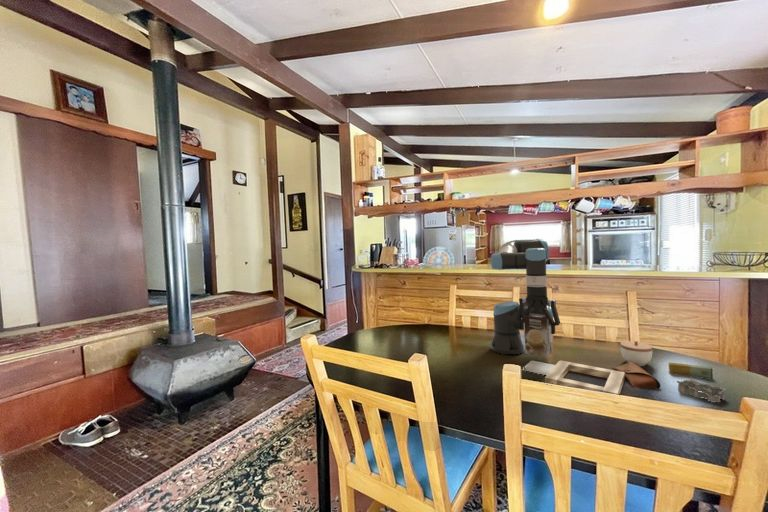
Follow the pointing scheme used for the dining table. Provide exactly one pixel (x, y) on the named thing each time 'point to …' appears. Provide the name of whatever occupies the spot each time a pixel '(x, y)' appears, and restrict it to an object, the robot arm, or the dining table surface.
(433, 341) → the dining table surface
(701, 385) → the grey flat lump
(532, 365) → the spiral notepad
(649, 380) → the sunglasses case
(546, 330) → the coffee box
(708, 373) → the medication box
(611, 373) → the board
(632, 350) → the lidded jar
